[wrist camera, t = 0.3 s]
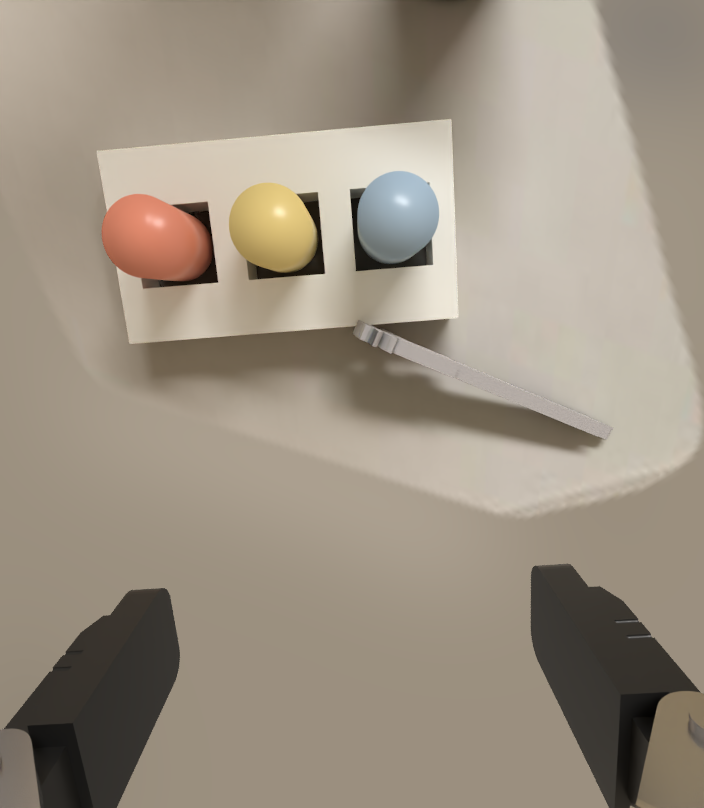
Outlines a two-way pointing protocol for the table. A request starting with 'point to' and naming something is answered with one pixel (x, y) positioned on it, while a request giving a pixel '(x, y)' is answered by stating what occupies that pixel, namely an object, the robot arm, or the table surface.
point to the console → (333, 187)
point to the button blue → (396, 217)
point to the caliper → (476, 378)
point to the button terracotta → (155, 239)
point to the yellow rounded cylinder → (273, 228)
